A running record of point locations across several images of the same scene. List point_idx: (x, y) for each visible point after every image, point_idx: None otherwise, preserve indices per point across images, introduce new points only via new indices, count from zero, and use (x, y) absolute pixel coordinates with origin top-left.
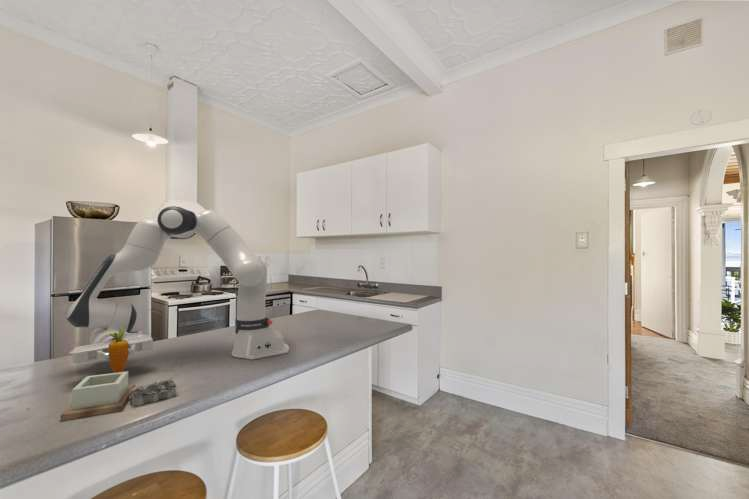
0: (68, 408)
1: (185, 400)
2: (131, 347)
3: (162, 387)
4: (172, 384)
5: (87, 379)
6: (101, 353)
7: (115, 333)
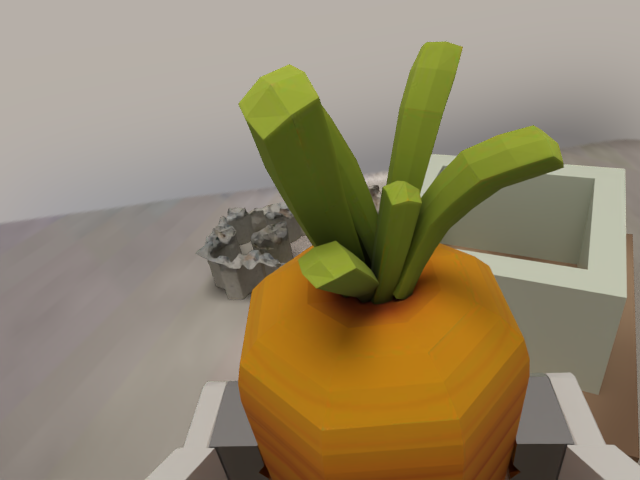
0: (626, 270)
1: (241, 203)
2: (198, 454)
3: (264, 228)
4: (225, 229)
5: (594, 243)
6: (622, 463)
7: (428, 57)
